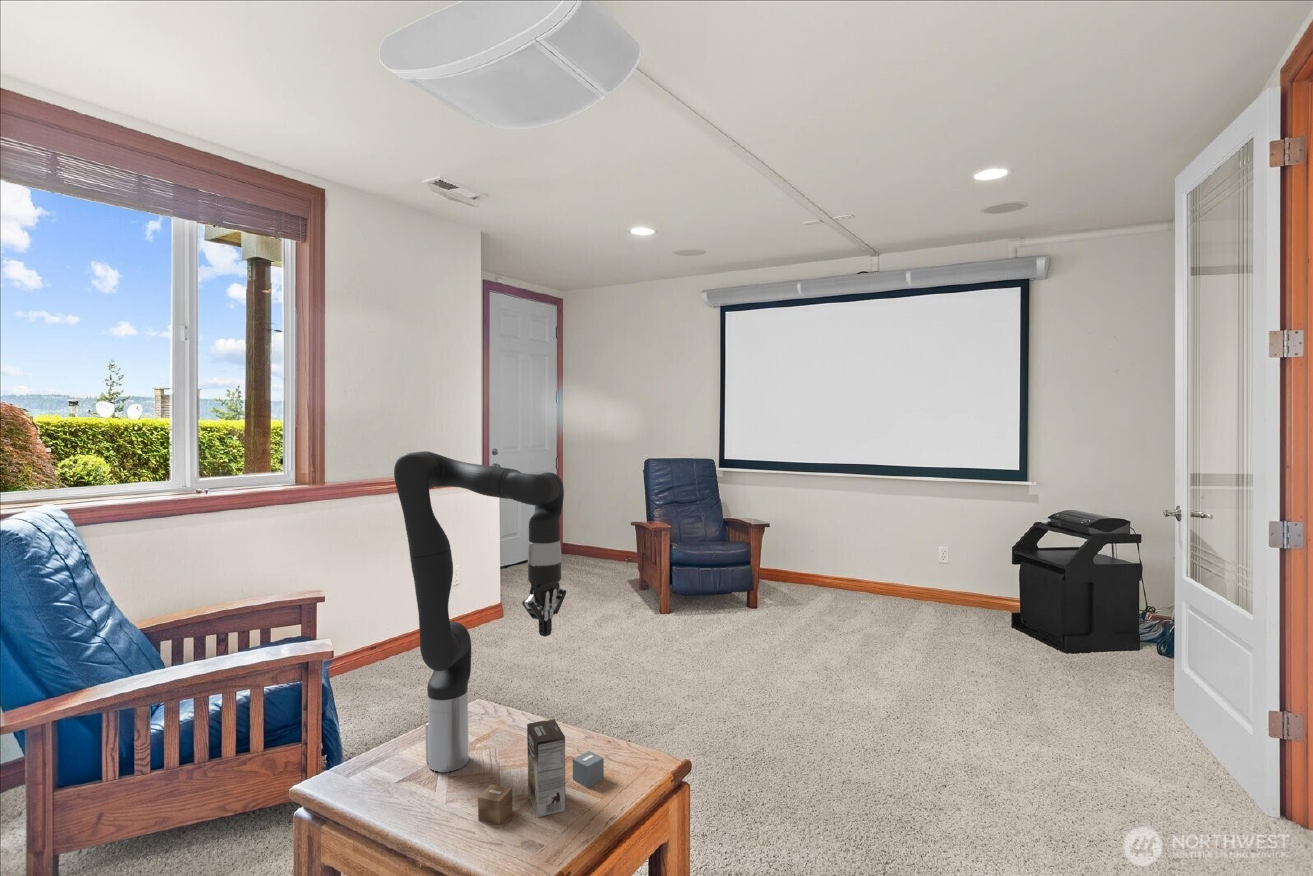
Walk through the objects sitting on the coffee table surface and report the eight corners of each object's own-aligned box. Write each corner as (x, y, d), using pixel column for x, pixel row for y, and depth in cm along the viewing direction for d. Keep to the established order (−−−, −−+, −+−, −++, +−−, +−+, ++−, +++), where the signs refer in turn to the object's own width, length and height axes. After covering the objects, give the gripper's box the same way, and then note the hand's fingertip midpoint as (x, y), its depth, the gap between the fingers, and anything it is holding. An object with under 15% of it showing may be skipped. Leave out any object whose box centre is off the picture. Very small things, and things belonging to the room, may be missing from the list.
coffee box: (527, 795, 144) (526, 723, 144) (555, 788, 147) (555, 717, 146) (536, 818, 136) (535, 742, 135) (566, 811, 138) (565, 736, 138)
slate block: (572, 780, 150) (572, 758, 150) (589, 771, 154) (588, 750, 154) (587, 788, 147) (587, 766, 147) (603, 779, 151) (603, 757, 150)
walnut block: (478, 821, 135) (478, 796, 135) (491, 807, 140) (491, 783, 140) (499, 825, 134) (499, 800, 134) (512, 811, 139) (511, 787, 138)
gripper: (551, 553, 158) (552, 624, 158) (511, 564, 146) (512, 640, 147) (575, 557, 154) (576, 630, 154) (537, 568, 142) (537, 647, 143)
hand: (545, 635), depth 151 cm, fingers closed
